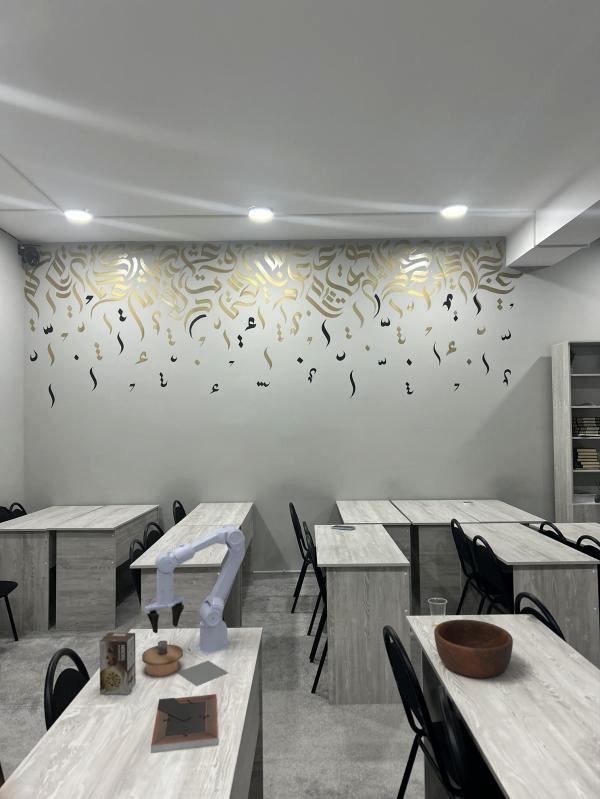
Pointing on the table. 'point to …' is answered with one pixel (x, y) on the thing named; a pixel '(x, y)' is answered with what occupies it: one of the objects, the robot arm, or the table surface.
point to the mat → (202, 673)
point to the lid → (162, 654)
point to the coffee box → (117, 663)
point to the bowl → (161, 669)
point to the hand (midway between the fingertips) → (165, 628)
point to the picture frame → (185, 723)
